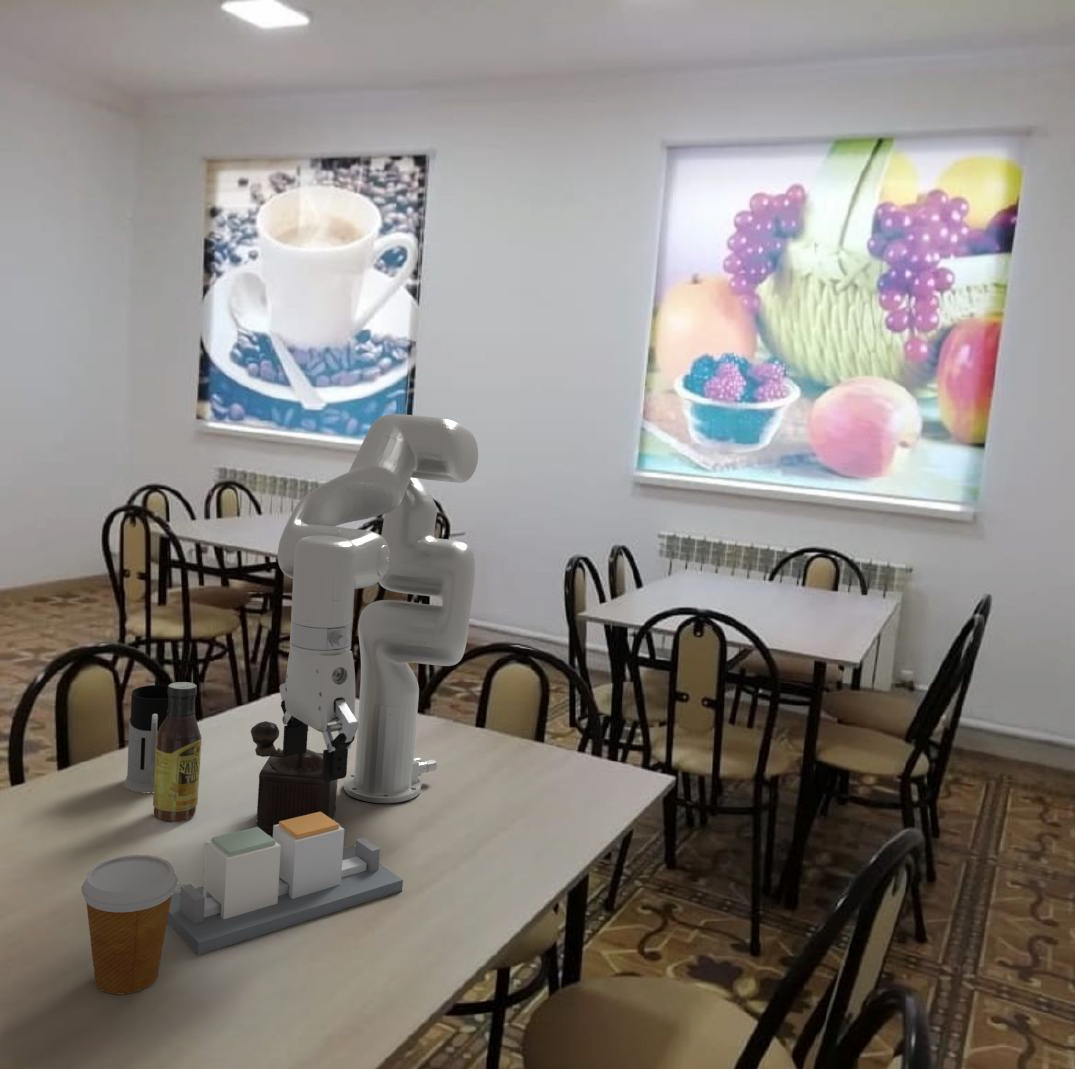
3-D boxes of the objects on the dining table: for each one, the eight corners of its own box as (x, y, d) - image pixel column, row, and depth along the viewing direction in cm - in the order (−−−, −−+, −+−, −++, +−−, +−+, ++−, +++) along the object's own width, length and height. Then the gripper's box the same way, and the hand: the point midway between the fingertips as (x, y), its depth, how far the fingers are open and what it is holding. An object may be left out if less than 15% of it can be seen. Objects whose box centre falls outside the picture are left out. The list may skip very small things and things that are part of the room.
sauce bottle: (182, 827, 146) (188, 694, 144) (143, 820, 147) (149, 688, 145) (206, 810, 153) (212, 683, 150) (168, 803, 154) (174, 677, 151)
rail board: (353, 855, 142) (357, 790, 141) (402, 890, 133) (407, 821, 132) (155, 910, 123) (158, 835, 122) (198, 955, 114) (201, 875, 113)
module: (318, 867, 134) (321, 809, 133) (340, 884, 130) (344, 824, 129) (270, 881, 130) (273, 821, 129) (292, 899, 126) (295, 837, 125)
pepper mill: (265, 806, 156) (271, 693, 154) (337, 811, 157) (344, 698, 154) (240, 850, 141) (246, 726, 138) (320, 855, 141) (328, 731, 139)
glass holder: (182, 771, 167) (186, 683, 165) (181, 806, 153) (185, 710, 151) (125, 773, 164) (129, 683, 162) (119, 808, 150) (122, 711, 149)
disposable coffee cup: (96, 952, 113) (99, 850, 112) (183, 955, 114) (188, 854, 112) (64, 1002, 104) (67, 892, 102) (159, 1005, 105) (164, 896, 103)
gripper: (385, 649, 122) (376, 783, 125) (312, 617, 135) (305, 740, 137) (331, 656, 117) (323, 796, 120) (260, 622, 130) (254, 750, 132)
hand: (313, 766), depth 128 cm, fingers open, 9 cm apart
